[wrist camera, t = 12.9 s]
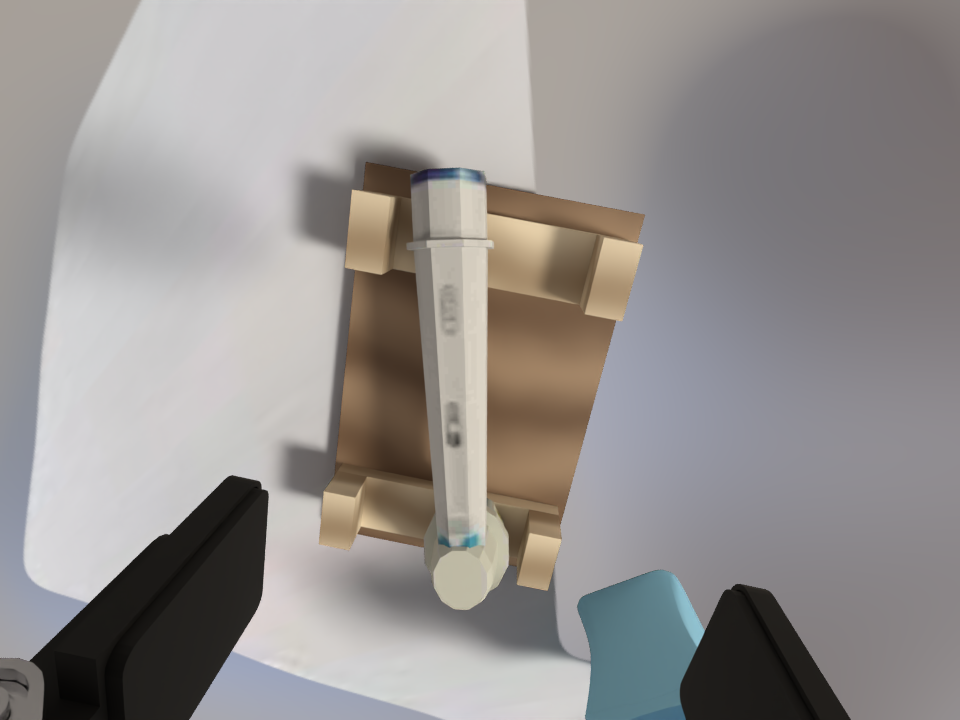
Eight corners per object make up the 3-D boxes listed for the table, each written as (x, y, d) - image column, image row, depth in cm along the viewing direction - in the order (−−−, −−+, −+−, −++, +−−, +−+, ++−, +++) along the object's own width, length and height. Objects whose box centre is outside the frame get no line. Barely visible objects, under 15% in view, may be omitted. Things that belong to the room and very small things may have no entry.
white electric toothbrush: (498, 164, 23) (507, 645, 27) (503, 188, 30) (510, 573, 34) (387, 169, 24) (412, 642, 28) (416, 192, 30) (433, 571, 34)
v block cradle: (370, 163, 29) (345, 156, 25) (640, 214, 29) (661, 216, 25) (334, 519, 37) (309, 561, 33) (546, 562, 37) (549, 610, 32)
